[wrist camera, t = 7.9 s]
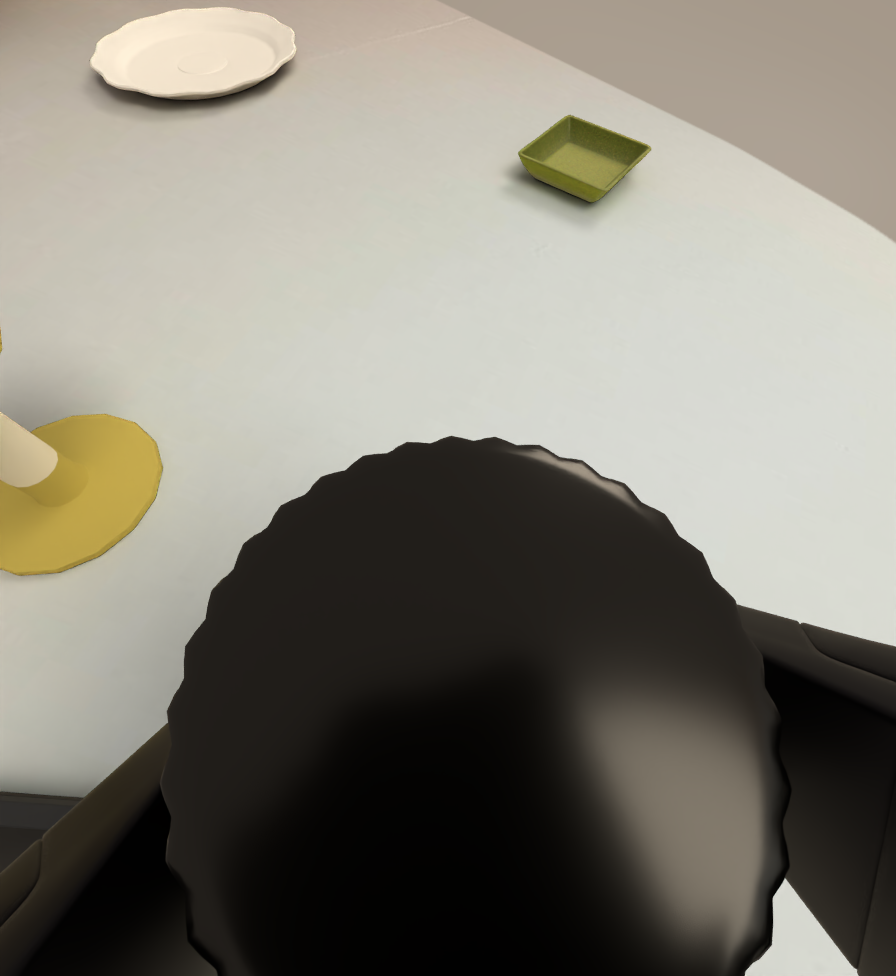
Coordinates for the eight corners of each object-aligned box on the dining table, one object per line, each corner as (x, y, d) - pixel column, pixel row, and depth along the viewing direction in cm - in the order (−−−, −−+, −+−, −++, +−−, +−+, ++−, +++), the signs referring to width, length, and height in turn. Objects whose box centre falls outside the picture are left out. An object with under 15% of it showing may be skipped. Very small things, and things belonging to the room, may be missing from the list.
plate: (85, 120, 43) (72, 99, 41) (117, 31, 52) (107, 11, 51) (303, 105, 45) (298, 84, 43) (296, 22, 54) (292, 3, 53)
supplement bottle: (522, 898, 12) (1176, 2338, 1) (297, 791, 13) (-351, 1112, 2) (577, 647, 15) (908, 465, 4) (392, 577, 16) (294, 295, 5)
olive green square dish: (644, 172, 40) (654, 145, 38) (598, 216, 37) (606, 190, 35) (562, 139, 43) (568, 113, 41) (512, 179, 39) (515, 152, 38)
